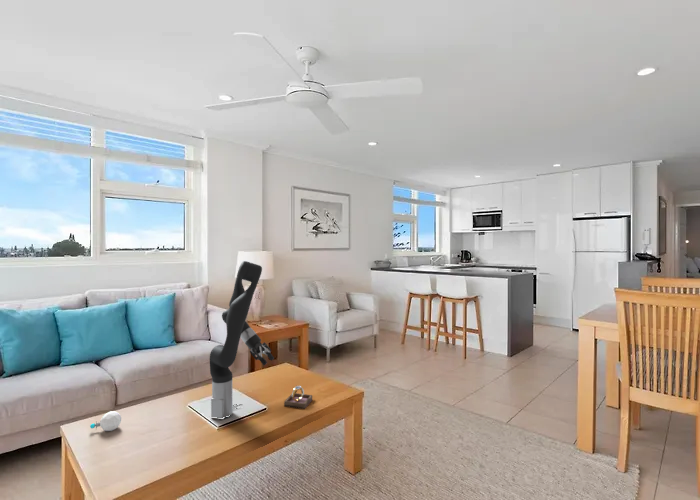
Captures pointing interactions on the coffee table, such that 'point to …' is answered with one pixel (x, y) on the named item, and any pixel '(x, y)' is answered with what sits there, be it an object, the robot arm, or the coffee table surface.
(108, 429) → the perfume bottle
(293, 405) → the jewellery tray
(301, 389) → the ring
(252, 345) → the robot arm
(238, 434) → the coffee table surface
